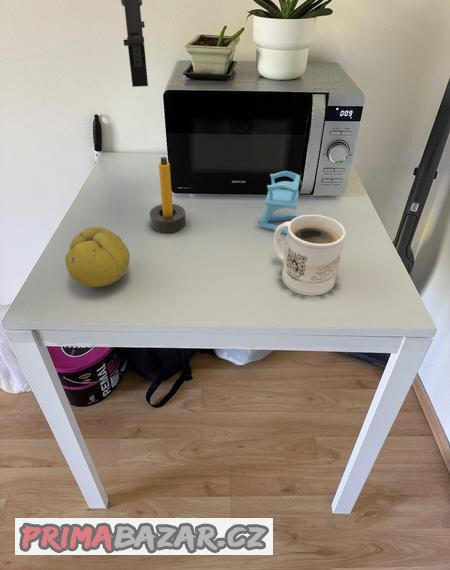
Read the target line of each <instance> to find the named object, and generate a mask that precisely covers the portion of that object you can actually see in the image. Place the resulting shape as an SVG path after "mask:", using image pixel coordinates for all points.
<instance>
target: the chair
mask: <svg viewBox="0 0 450 570" xmlns="http://www.w3.org/2000/svg"><path fill="white" fill-rule="evenodd" d="M269 177H270V179H271V180H270V181H271V184H267V185H266V187H267V195H266V198H265V202H264V207H265V206H266V207H265V209H264V211H263V213H262V215H261V220H260V222H259V227H261V228H263V229H268V230H271V231H275V230H276V228H277V227H278V226H279V225H277V224H274V223H271V222H276V221H291V220H293V219H294V218H296V217H299V216H300V214H277V215H276V214H275V215H274V213H276V211H278V210H280V209H281V210H282V209H293V210H297V207H298V200H299V199H298V198H299V194H300V190H299V188H300V182H301V181H300V180H301V179H300V178H301V175H300V174H298V173H296V172H293V171H288V170H283V171H282V170H281V171H279V172H276V173H270V174H269ZM281 177H287V178H290V179H291V180H293V181H288V180H283V181H278V182H276V180H275V179H278V178H281ZM287 229H288V228H283V229H282V231H281V234H284V235H287Z"/></svg>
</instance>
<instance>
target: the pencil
mask: <svg viewBox="0 0 450 570" xmlns="http://www.w3.org/2000/svg"><path fill="white" fill-rule="evenodd" d="M158 173H159V185H160V186H159V187H160V195H161V196H160V197H161V198H160V199H161V204H162V210H163V217H170V216H173V205H172V204H173V191H172V179H171V164H170V163H169V162H168V158H167V157H165V156H162V157H160V162H159V163H158Z"/></svg>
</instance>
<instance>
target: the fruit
mask: <svg viewBox="0 0 450 570" xmlns="http://www.w3.org/2000/svg"><path fill="white" fill-rule="evenodd" d="M68 248H69V249H68V251H67V253H66V254H65V259H64V261H65V266H66V270H67V273H68V274H69V276H70V277H71V278H72V280H74V282H77V283H78V284H80V285H82V286H85V287H88V288H89V287H90V288H99V287H106V286H108V285H112V284H113V283H115V282H117V281H118V280H120V279H122V277H123V276H124V275H125V273H126V271H127V270H128V267H129V265H130V251H129V249H128V247H127V246H126V244H125V242H124V241H123V239H122V238H121V237H120V236H119V235H117V234H116V233H114V232H113V231H111V230H109V229H107V228H105V227H101V226H92V227H89V228H86V229H83V230H81V231H79V232H78V233H77V234H76V235H75V236H74V237H73V239H72V240H71V242H70V245H69V247H68Z"/></svg>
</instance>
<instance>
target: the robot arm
mask: <svg viewBox="0 0 450 570" xmlns="http://www.w3.org/2000/svg"><path fill="white" fill-rule="evenodd" d="M120 3H121V5H122V6H123V7H124V15H125V26H126V34H127V37H126V39H123V46H124V47H127V50H128V59H129V68H130V76H131V77H130V78H131V86H132V87H134V88H136V87H138V88H139V87H149V81H148V71H147V60H146V58H147V57H146V50H145V49H146V47H145V37H144V34H143V32H144V31H143V28H146V26H145V21H144V20H143V21H142V11H141V7H142V5H143V0H120Z"/></svg>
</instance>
